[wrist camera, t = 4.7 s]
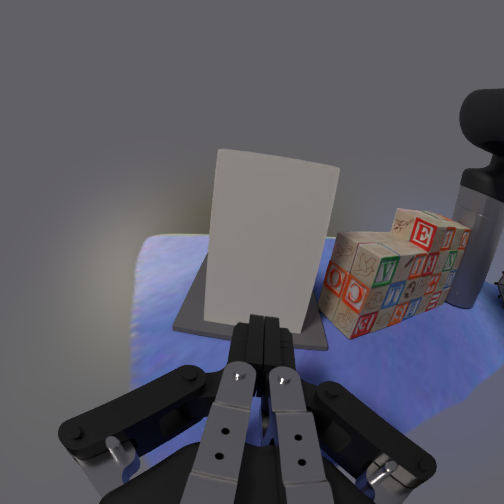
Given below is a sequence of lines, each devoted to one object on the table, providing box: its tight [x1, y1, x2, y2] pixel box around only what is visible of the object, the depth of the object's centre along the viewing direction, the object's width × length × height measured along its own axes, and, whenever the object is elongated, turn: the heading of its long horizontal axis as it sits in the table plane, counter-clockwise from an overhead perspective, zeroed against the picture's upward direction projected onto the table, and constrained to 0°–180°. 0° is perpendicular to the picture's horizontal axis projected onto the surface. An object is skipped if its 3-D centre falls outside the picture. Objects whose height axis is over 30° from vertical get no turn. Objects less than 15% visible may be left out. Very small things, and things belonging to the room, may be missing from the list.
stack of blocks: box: [317, 208, 471, 339], centre depth 30 cm, size 21×6×12 cm, turn 114°
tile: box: [204, 149, 340, 333], centre depth 23 cm, size 2×9×15 cm, turn 87°
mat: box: [173, 253, 328, 351], centre depth 34 cm, size 21×14×1 cm, turn 177°
